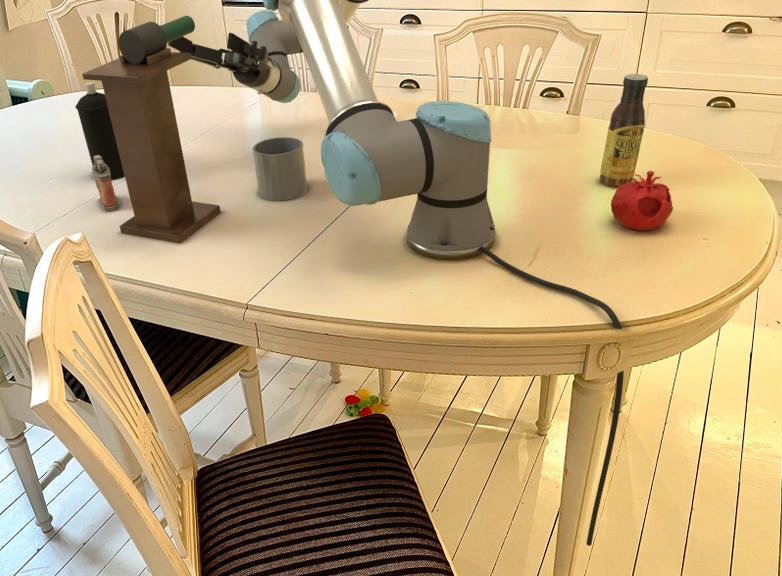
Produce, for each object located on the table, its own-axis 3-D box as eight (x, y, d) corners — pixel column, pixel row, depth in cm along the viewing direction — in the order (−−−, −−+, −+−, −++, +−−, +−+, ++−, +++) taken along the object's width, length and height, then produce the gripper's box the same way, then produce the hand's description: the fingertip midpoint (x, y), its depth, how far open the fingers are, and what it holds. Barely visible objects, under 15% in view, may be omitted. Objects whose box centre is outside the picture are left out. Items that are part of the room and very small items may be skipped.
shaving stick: (179, 39, 140) (173, 8, 137) (202, 40, 138) (197, 8, 134) (122, 63, 128) (115, 30, 125) (147, 64, 126) (140, 30, 122)
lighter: (98, 198, 157) (86, 153, 151) (114, 195, 158) (103, 149, 152) (104, 212, 151) (91, 165, 145) (121, 209, 152) (109, 162, 146)
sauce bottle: (608, 190, 141) (625, 83, 130) (593, 178, 146) (608, 74, 135) (640, 185, 142) (660, 79, 130) (624, 173, 147) (642, 70, 135)
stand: (165, 202, 153) (131, 43, 135) (222, 211, 147) (194, 45, 129) (119, 234, 142) (75, 65, 124) (178, 244, 137) (141, 69, 118)
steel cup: (315, 192, 151) (311, 147, 146) (270, 204, 148) (265, 159, 142) (293, 177, 159) (289, 133, 153) (251, 188, 155) (245, 144, 150)
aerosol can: (121, 180, 165) (98, 88, 153) (87, 180, 166) (62, 89, 155) (136, 166, 171) (115, 77, 159) (103, 166, 173) (80, 78, 161)
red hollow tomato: (596, 221, 131) (603, 170, 126) (636, 205, 135) (645, 156, 129) (641, 241, 124) (651, 189, 119) (682, 224, 128) (694, 173, 122)
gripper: (303, 91, 156) (252, 62, 136) (205, 85, 166) (145, 57, 147) (309, 54, 154) (258, 19, 135) (209, 50, 164) (149, 17, 145)
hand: (199, 39), depth 141 cm, fingers open, 13 cm apart
